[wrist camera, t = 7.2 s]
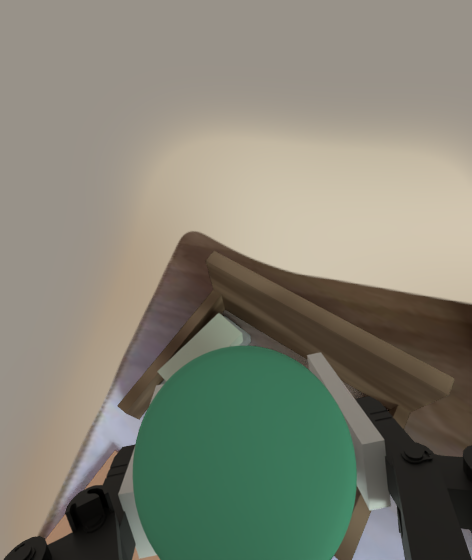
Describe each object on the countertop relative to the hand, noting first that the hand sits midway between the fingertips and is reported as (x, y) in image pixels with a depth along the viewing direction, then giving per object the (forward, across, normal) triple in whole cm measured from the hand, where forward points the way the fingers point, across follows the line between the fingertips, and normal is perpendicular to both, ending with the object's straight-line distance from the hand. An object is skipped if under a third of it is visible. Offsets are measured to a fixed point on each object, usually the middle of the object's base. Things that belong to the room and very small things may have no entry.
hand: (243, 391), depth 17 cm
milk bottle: (+5, 0, -9) cm, 10 cm away
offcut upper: (+18, -4, -6) cm, 19 cm away
